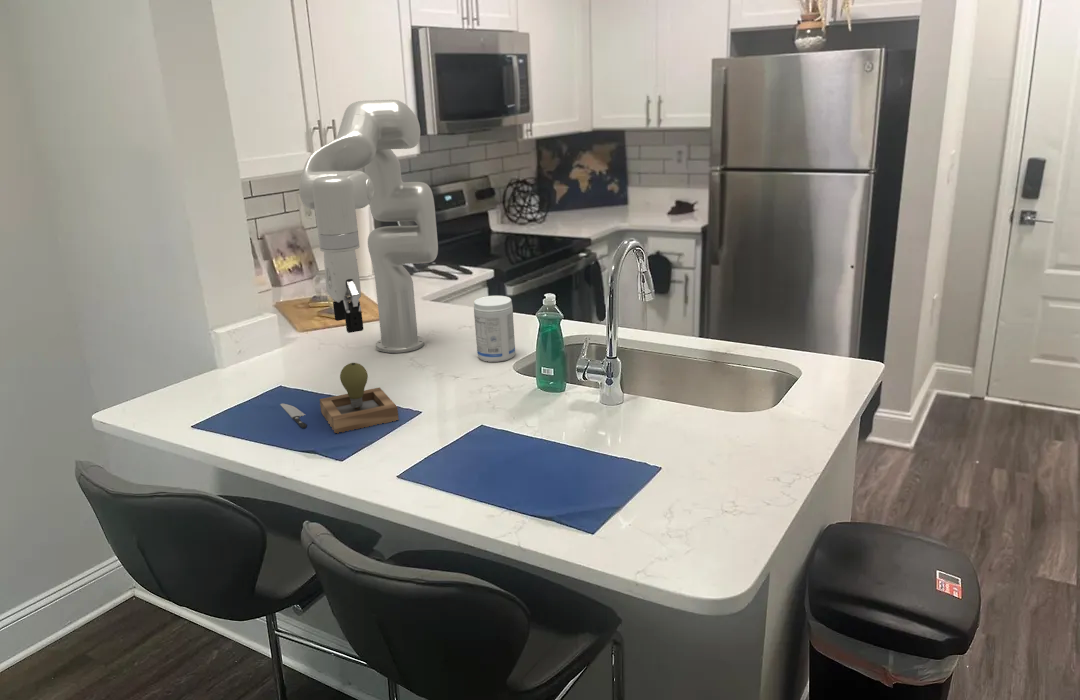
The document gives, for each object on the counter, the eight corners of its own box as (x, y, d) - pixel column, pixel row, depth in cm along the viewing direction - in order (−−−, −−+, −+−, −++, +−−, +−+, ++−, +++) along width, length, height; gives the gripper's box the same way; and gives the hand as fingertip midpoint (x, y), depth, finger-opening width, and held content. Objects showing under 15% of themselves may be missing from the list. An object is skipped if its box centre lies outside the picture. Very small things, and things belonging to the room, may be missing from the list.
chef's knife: (290, 400, 180) (277, 403, 178) (290, 396, 180) (276, 398, 178) (316, 427, 164) (302, 430, 163) (316, 422, 164) (301, 425, 163)
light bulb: (376, 407, 169) (371, 362, 166) (354, 415, 165) (348, 369, 162) (360, 401, 173) (355, 357, 170) (338, 409, 169) (333, 364, 166)
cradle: (321, 412, 171) (319, 399, 170) (380, 400, 177) (379, 387, 176) (335, 433, 160) (333, 419, 159) (398, 420, 165) (397, 406, 164)
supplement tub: (500, 348, 208) (497, 293, 204) (523, 356, 201) (520, 299, 197) (469, 357, 203) (465, 300, 198) (491, 365, 196) (488, 307, 191)
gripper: (310, 236, 163) (320, 318, 168) (329, 251, 148) (340, 339, 153) (347, 232, 166) (356, 312, 171) (370, 246, 151) (379, 333, 157)
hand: (349, 325), depth 162 cm, fingers open, 9 cm apart
